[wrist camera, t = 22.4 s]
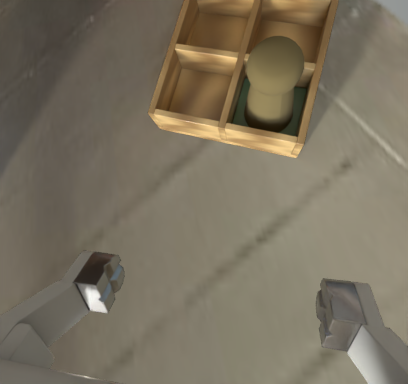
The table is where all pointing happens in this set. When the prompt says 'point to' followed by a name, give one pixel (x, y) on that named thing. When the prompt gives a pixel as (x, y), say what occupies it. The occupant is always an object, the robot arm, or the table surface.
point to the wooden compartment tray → (238, 69)
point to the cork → (272, 83)
